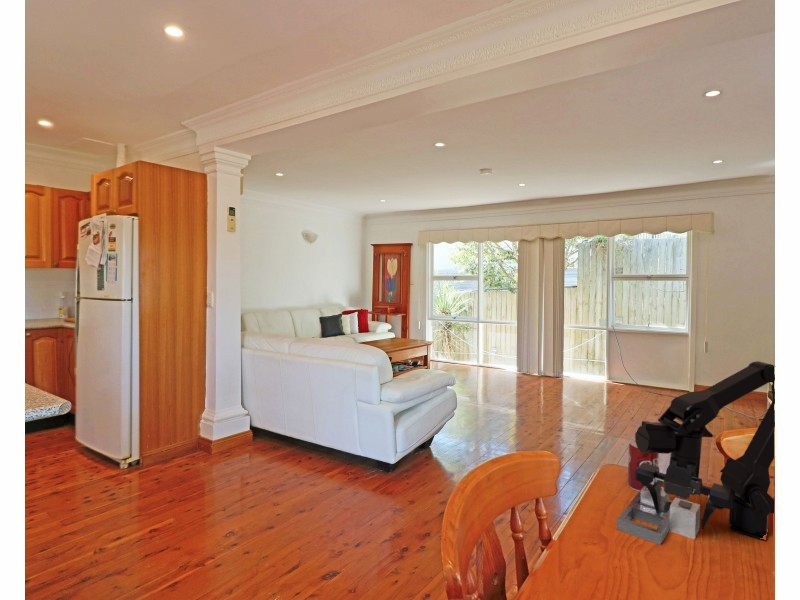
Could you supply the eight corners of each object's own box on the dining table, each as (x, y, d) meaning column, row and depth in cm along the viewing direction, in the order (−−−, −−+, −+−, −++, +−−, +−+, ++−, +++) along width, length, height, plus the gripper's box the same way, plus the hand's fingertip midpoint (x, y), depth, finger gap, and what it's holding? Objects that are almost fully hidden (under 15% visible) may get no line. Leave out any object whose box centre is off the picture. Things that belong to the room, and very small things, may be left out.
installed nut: (668, 512, 113) (669, 487, 112) (663, 521, 109) (664, 495, 109) (645, 505, 116) (646, 481, 116) (640, 513, 113) (640, 488, 112)
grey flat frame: (679, 512, 113) (680, 502, 113) (660, 545, 100) (660, 533, 100) (639, 500, 119) (640, 490, 119) (616, 529, 106) (616, 518, 106)
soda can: (621, 484, 128) (622, 442, 127) (639, 479, 131) (640, 438, 130) (645, 496, 121) (646, 451, 120) (663, 490, 124) (665, 447, 123)
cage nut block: (699, 530, 106) (700, 503, 105) (694, 539, 102) (695, 511, 101) (674, 522, 109) (675, 496, 108) (669, 530, 105) (670, 504, 105)
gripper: (630, 450, 104) (625, 517, 105) (731, 478, 92) (723, 553, 93) (644, 439, 113) (638, 501, 114) (738, 462, 100) (731, 532, 101)
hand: (679, 520), depth 105 cm, fingers open, 8 cm apart
